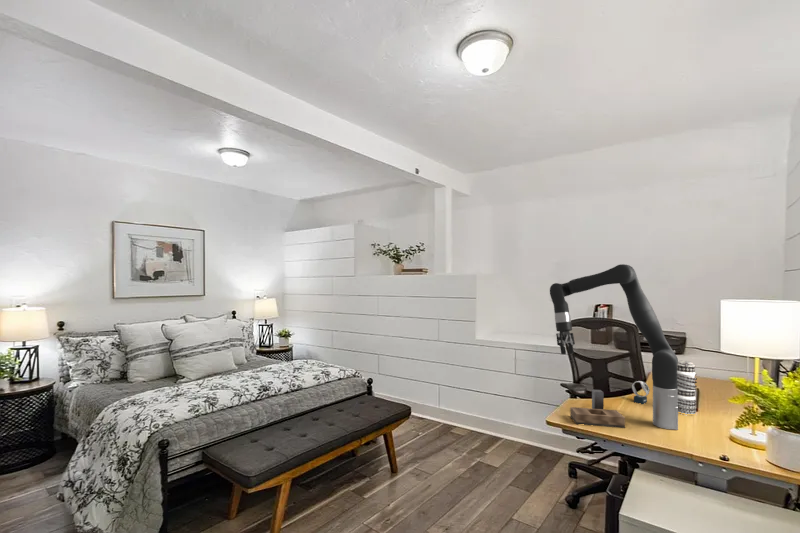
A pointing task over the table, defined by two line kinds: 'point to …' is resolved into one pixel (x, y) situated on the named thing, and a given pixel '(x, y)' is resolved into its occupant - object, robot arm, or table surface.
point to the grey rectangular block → (597, 399)
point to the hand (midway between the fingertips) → (567, 353)
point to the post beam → (597, 417)
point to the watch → (638, 397)
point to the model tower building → (686, 387)
